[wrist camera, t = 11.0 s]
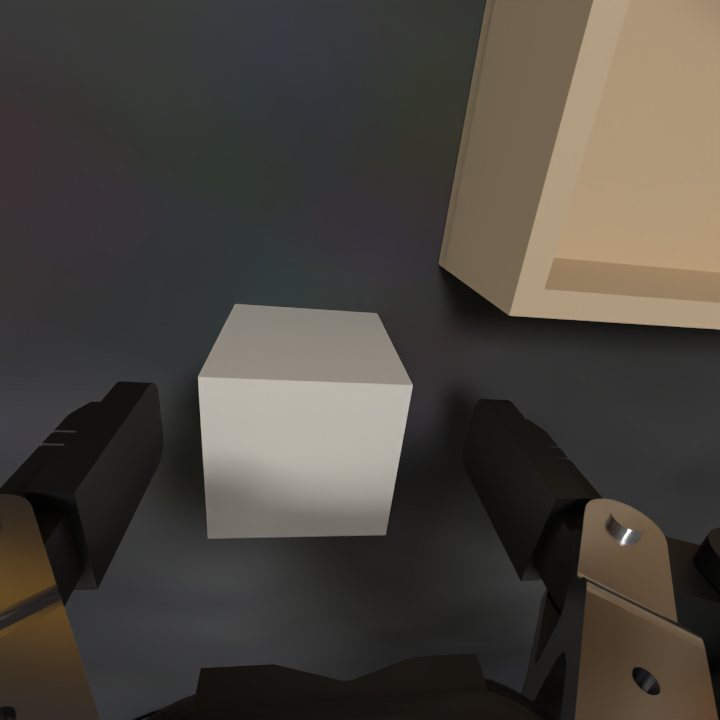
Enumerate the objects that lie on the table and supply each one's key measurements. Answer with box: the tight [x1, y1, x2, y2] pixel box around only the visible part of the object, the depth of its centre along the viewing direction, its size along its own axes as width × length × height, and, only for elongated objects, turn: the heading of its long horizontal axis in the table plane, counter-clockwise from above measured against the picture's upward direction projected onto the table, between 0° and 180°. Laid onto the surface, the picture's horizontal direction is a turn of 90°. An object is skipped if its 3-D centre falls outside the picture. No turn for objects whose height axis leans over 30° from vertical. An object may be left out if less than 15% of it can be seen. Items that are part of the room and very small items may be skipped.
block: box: [198, 304, 413, 539], centre depth 12 cm, size 4×4×5 cm
